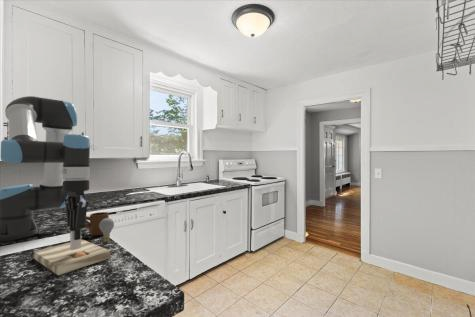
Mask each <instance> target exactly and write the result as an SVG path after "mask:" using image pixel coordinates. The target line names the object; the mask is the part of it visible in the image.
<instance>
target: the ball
mask: <svg viewBox="0 0 475 317" xmlns="http://www.w3.org/2000/svg"><path fill="white" fill-rule="evenodd" d="M85 255H86V254H85V253H84V252H79V253H77V254H76V255H75V257H74V259H75V258H79V257H82V256H85Z"/></svg>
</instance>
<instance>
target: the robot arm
mask: <svg viewBox="0 0 475 317" xmlns="http://www.w3.org/2000/svg"><path fill="white" fill-rule="evenodd" d="M4 113H5V117H6V120H8V139H2V140H1V141H0V161H1V162H3V163H11V164H12V163H13V164H14V163H15V164H28V163H30V164H33V163H35V164H38V163H39V164H41V163H43V164H44V170H43V180H41V181H40V182H39V186H35V185H34V184H33V183H29V184H19V185H12V186H7V187H6V186H5V187H2V188H0V242H8V241H13V240H14V241H17V240H20V239H25V238H30V237H32V236H36V234H38V226H37V224H36V221H35V219H34V212H38V211H49V210H58V209H63V208H65V212H66V214H65V215H66V225H67V227H68V229H69V232H70V235H69V236H70V237H69V240H70V242H69V243H70V250H75V249H79V248H81V240H82V230H83V229H85V228H86V227H85V223H86V221H87V220H86V216H87V210H88V206H89V200H86V196H85V192H86V191H89V190H90V180H89V179H90V176H91V175H90V170H91V169H90V168H91V167H90V160H91V159H90V154H91V153H90V150H91V143H90V137H89V136H88V135H84V134H77V133H76V134H74V133H73V134H69V133H70V132H72V131H73V127H76V126H78V114H77V109H76V106H75V105H74V103H72V102H69V101H65V100H60V99H53V98H47V97H46V98H45V97H38V96H35V95H34V96H30V95H29V96H28V95H27V96H22V97H18V98H15V99H14V100H12V101H11V102H9V103H8V104H7V106H6V107H5V111H4ZM36 123H37V124H39V123H40V124H41V128H43V130H45V141H42V140H41V141H40V140H39V139H38V134H37V128H36Z"/></svg>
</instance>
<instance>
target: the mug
mask: <svg viewBox="0 0 475 317" xmlns="http://www.w3.org/2000/svg"><path fill="white" fill-rule="evenodd" d="M105 218H109V212H106V211H103V212H101V211H99V212H94V213H90V215H89V216H87V215H86V220H85V221H89V222H88V223H86V222H85V227H84V228H88V229H89V234H90V236H91V237H96V236H98V235H99V236H104V235H103V233H102V231H101V230H100V228H99V224H100V222H101V221H102V220H103V219H105Z"/></svg>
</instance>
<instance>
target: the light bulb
mask: <svg viewBox="0 0 475 317" xmlns="http://www.w3.org/2000/svg"><path fill="white" fill-rule="evenodd" d="M114 227H115V222H114V220H113V219H112V218H105V219H103V220H102V221H101V222H100V224H99V228H100V230H101V231H102V233H103V235H102V236H103V242H104V243H108V242H110V236H111V235H110V234H111V232H112V230H113V229H114Z"/></svg>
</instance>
